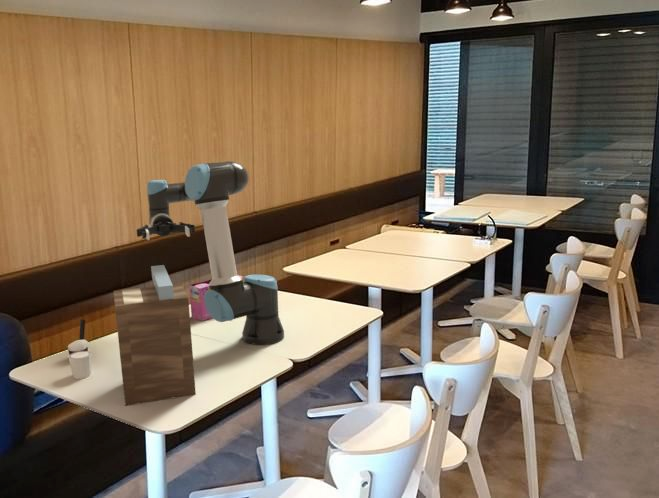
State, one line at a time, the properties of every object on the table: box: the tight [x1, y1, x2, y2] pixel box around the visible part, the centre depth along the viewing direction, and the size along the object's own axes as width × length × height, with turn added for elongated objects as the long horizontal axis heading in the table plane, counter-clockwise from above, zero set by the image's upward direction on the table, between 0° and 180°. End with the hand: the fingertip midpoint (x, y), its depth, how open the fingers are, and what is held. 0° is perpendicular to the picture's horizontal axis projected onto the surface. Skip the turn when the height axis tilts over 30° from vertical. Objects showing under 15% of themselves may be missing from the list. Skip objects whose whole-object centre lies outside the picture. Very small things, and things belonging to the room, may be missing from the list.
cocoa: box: [67, 319, 89, 355], centre depth 223 cm, size 10×6×12 cm, turn 148°
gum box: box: [188, 274, 245, 322], centre depth 267 cm, size 24×8×14 cm, turn 136°
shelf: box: [113, 283, 197, 407], centre depth 195 cm, size 16×20×30 cm
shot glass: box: [68, 350, 93, 380], centre depth 209 cm, size 7×7×7 cm
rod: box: [150, 264, 174, 300], centre depth 197 cm, size 25×4×4 cm, turn 19°
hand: (168, 234), depth 226 cm, fingers open, 13 cm apart
